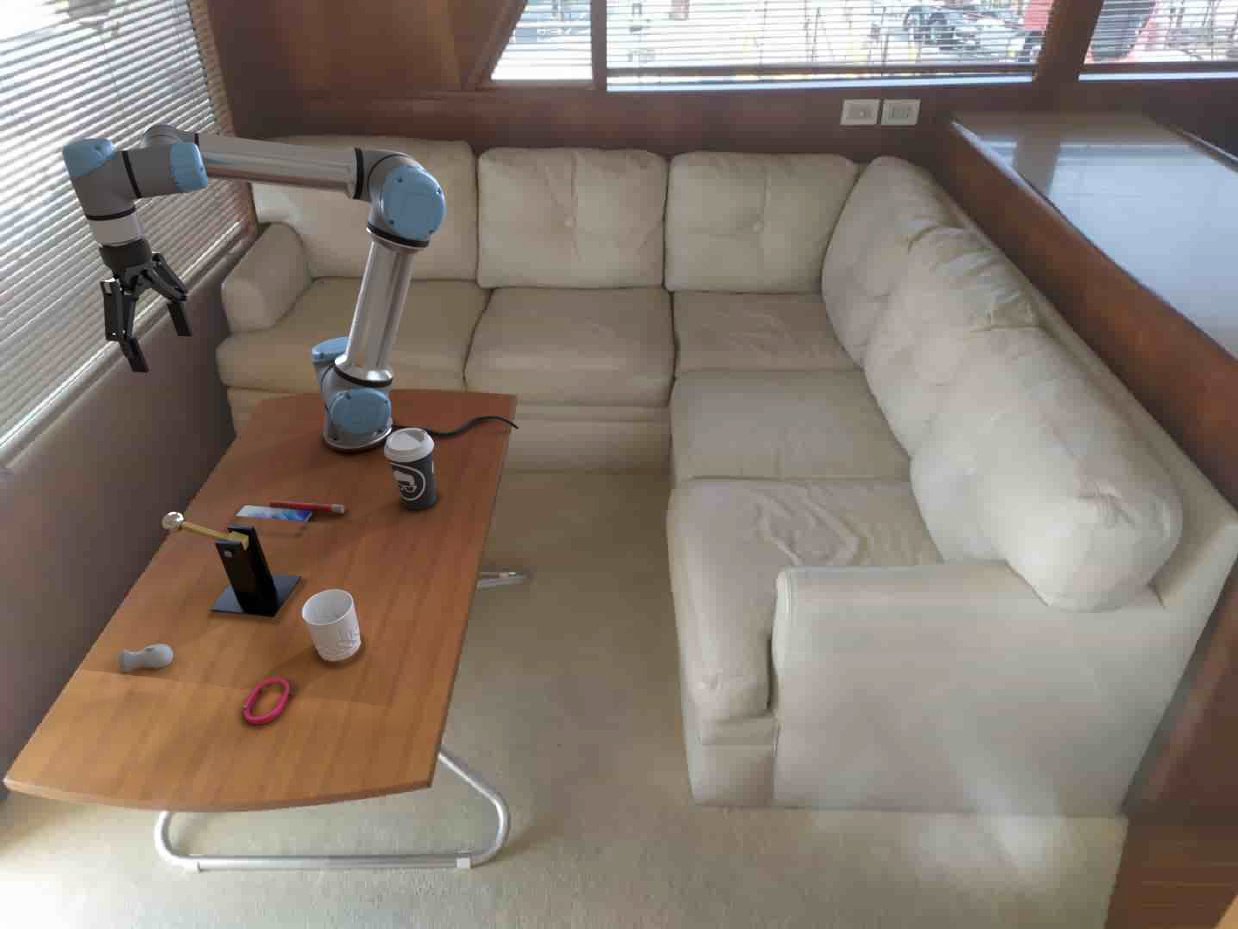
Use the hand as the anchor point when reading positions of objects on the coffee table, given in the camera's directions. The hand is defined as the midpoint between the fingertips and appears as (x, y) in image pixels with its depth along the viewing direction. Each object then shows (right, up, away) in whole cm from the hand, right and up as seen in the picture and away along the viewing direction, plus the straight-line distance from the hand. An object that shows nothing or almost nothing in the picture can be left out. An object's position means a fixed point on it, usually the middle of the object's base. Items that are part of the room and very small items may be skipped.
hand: (164, 352), depth 154 cm
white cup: (+36, -51, -13) cm, 64 cm away
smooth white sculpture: (+6, -53, -14) cm, 55 cm away
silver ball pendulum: (+12, -33, -9) cm, 36 cm away
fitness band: (+28, -57, -21) cm, 67 cm away
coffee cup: (+42, -28, +20) cm, 53 cm away
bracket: (+18, -44, -2) cm, 47 cm away
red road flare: (+19, -29, +17) cm, 39 cm away
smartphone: (+13, -31, +15) cm, 37 cm away
